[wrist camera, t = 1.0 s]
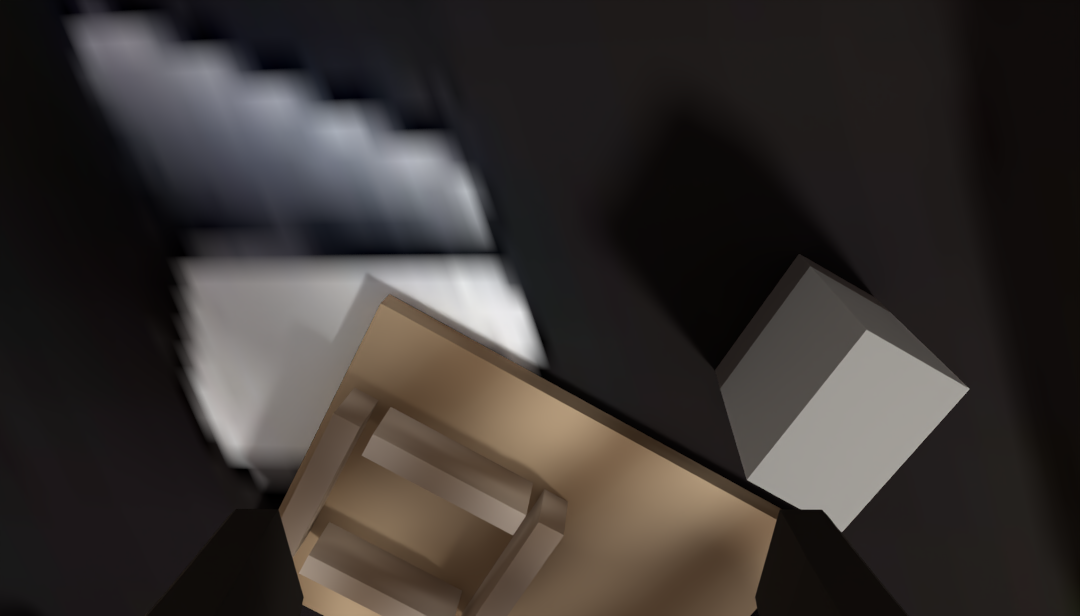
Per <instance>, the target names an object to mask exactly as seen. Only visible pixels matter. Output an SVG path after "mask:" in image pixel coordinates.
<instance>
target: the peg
mask: <svg viewBox="0 0 1080 616" xmlns="http://www.w3.org/2000/svg"><path fill="white" fill-rule="evenodd" d="M715 373H716V376H717V379H718V383H719V386H720V390H721V393H722V397H723V400H724V403H725V407H726V410H727V414H728V417H729V420H730V424H731V427H732V431H733V434H734V438H735V441H736V444H737V448H738V451H739V455H740V458H741V461H742V465H743V468H744V472H745V475H746V478H747V480H748V481H750V482H752V483H753V484H755V485H757V486H759V487H761V488H763V489H764V490H766V491H768V492H770V493H772V494H773V495H775V496H777V497H779V498H781V499H783V500H784V501H786V502H788V503H790V504H792V505H793V506H795V507H797V508H799V509H801V510H823V511H824V512H825V513H826V514H827V515H828V516H829V518H830V519H831V520H832V522H833V523H834V524H835V525H836V527H837V528H838V529H839V530H840V531H841V532H842V531H843V530H844V529H845V528H846V527H847V526H848V525H849V524H850V522H851V521H852V520H853V519H854V518H855V517H856V516H857V515H858V514H859V512H860V511H861V510H862V509H863V508H864V507H865V506H866V505H867V503H868V502H869V501H870V500H871V499H872V498H873V497H874V496H875V494H876V493H877V492H878V491H879V490H880V489H881V488H882V487H883V485H884V484H885V483H886V482H887V481H888V480H889V479H890V478H891V476H892V475H893V474H894V473H895V472H896V471H897V470H898V469H899V468H900V466H901V465H902V464H903V463H904V462H905V461H906V460H907V459H908V457H909V456H910V455H911V454H912V453H913V452H914V451H915V450H916V448H917V447H918V446H919V445H920V444H921V443H922V442H923V441H924V439H925V438H926V437H927V436H928V435H929V434H930V433H931V432H932V430H933V429H934V428H935V427H936V426H937V425H938V424H939V423H940V422H941V420H942V419H943V418H944V417H945V416H946V415H947V414H948V413H949V411H950V410H951V409H952V408H953V407H954V406H955V405H956V404H957V402H958V401H959V400H960V399H961V398H962V397H963V396H964V395H965V393H966V392H967V391H968V390H969V388H968V387H967V386H966V385H965V384H964V383H963V382H962V381H961V380H960V379H959V378H958V377H957V376H956V375H955V374H954V373H953V372H951V371H950V370H949V369H948V368H947V367H946V366H945V365H944V364H943V363H942V362H941V361H940V360H939V359H938V358H937V357H936V356H935V355H934V354H933V353H932V352H931V351H930V350H929V349H928V348H927V347H926V346H924V345H923V344H922V343H921V342H920V341H919V340H918V339H917V338H916V337H915V336H914V335H913V334H912V333H911V332H910V331H909V330H908V329H907V328H906V327H905V326H904V325H903V324H902V323H901V322H900V321H899V320H898V319H896V318H895V317H894V316H893V315H892V314H891V313H890V312H889V311H888V310H887V309H886V308H885V307H884V306H883V305H882V304H881V303H880V302H879V301H878V300H877V299H876V298H875V297H873V296H871V295H870V294H868V293H866V292H864V291H863V290H861V289H859V288H858V287H856V286H854V285H852V284H851V283H849V282H847V281H846V280H844V279H842V278H840V277H839V276H837V275H835V274H833V273H832V272H830V271H828V270H827V269H825V268H823V267H821V266H820V265H818V264H816V263H814V262H813V261H811V260H809V259H808V258H806V257H804V256H802V255H801V254H799V255H798V256H797V257H796V259H795V260H794V261H793V263H792V264H791V266H790V267H789V268H788V270H787V271H786V273H785V274H784V275H783V277H782V278H781V279H780V281H779V282H778V284H777V285H776V286H775V288H774V289H773V291H772V292H771V293H770V295H769V296H768V297H767V299H766V300H765V302H764V303H763V304H762V306H761V307H760V308H759V310H758V311H757V313H756V314H755V315H754V317H753V318H752V320H751V321H750V322H749V324H748V325H747V326H746V328H745V329H744V331H743V332H742V333H741V335H740V336H739V338H738V339H737V340H736V342H735V343H734V344H733V346H732V347H731V349H730V350H729V351H728V353H727V354H726V356H725V357H724V358H723V360H722V361H721V362H720V364H719V365H718V367H717V368H716V369H715Z"/></svg>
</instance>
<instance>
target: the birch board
mask: <svg viewBox="0 0 1080 616" xmlns="http://www.w3.org/2000/svg"><path fill="white" fill-rule="evenodd" d="M779 510H780V508H779V507H777V506H775V505H773V504H771V503H770V502H768V501H766V500H764V499H762V498H760V497H759V496H757V495H755V494H753V493H751V492H749V491H748V490H746V489H744V488H742V487H740V486H739V485H737V484H735V483H733V482H731V481H729V480H728V479H726V478H724V477H722V476H720V475H718V474H717V473H715V472H713V471H711V470H709V469H707V468H706V467H704V466H702V465H700V464H698V463H697V462H695V461H693V460H691V459H689V458H687V457H686V456H684V455H682V454H680V453H678V452H676V451H675V450H673V449H671V448H669V447H667V446H666V445H664V444H662V443H660V442H658V441H656V440H655V439H653V438H651V437H649V436H647V435H645V434H644V433H642V432H640V431H638V430H636V429H634V428H633V427H631V426H629V425H627V424H625V423H624V422H622V421H620V420H618V419H616V418H614V417H613V416H611V415H609V414H607V413H605V412H603V411H602V410H600V409H598V408H596V407H594V406H593V405H591V404H589V403H587V402H585V401H583V400H582V399H580V398H578V397H576V396H574V395H572V394H571V393H569V392H567V391H565V390H563V389H561V388H560V387H558V386H556V385H554V384H552V383H551V382H549V381H547V380H545V379H543V378H541V377H540V376H538V375H536V374H534V373H532V372H530V371H529V370H527V369H525V368H523V367H521V366H520V365H518V364H516V363H514V362H512V361H510V360H509V359H507V358H505V357H503V356H501V355H499V354H498V353H496V352H494V351H492V350H490V349H488V348H487V347H485V346H483V345H481V344H479V343H478V342H476V341H474V340H472V339H470V338H468V337H467V336H465V335H463V334H461V333H459V332H457V331H456V330H454V329H452V328H450V327H448V326H447V325H445V324H443V323H441V322H439V321H437V320H436V319H434V318H432V317H430V316H428V315H426V314H425V313H423V312H421V311H419V310H417V309H415V308H414V307H412V306H410V305H408V304H406V303H405V302H403V301H401V300H399V299H397V298H395V297H394V296H392V295H390V294H389V295H388V296H387V297H386V298H385V299H384V300H383V301H382V302H381V304H380V306H379V308H378V310H377V312H376V314H375V316H374V318H373V320H372V322H371V324H370V326H369V328H368V330H367V332H366V334H365V336H364V338H363V340H362V342H361V344H360V346H359V348H358V350H357V352H356V354H355V356H354V358H353V360H352V362H351V364H350V366H349V368H348V370H347V372H346V374H345V376H344V378H343V380H342V382H341V384H340V386H339V388H338V390H337V393H336V395H335V397H334V399H333V401H332V403H331V405H330V407H329V409H328V411H327V413H326V415H325V417H324V419H323V421H322V423H321V425H320V427H319V429H318V431H317V433H316V435H315V437H314V439H313V441H312V443H311V445H310V447H309V449H308V451H307V453H306V455H305V457H304V459H303V461H302V463H301V465H300V467H299V469H298V471H297V473H296V475H295V477H294V479H293V481H292V483H291V485H290V487H289V490H288V492H287V494H286V496H285V498H284V500H283V502H282V504H281V506H280V508H279V513H280V516H281V520H282V523H283V527H284V530H285V534H286V537H287V541H288V544H289V548H290V551H291V554H292V558H293V561H294V565H295V568H296V572H297V575H298V579H299V582H300V586H301V589H302V593H303V596H304V598H303V603H302V605H304V606H306V607H308V608H310V609H312V610H314V611H316V612H318V613H320V614H322V615H324V616H750V615H751V614H752V613H753V612H754V611H755V610H756V609H757V605H756V599H755V595H756V592H757V588H758V585H759V581H760V578H761V574H762V570H763V567H764V563H765V560H766V556H767V553H768V549H769V545H770V542H771V538H772V535H773V531H774V528H775V524H776V521H777V517H778V513H779Z"/></svg>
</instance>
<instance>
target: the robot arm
mask: <svg viewBox="0 0 1080 616" xmlns="http://www.w3.org/2000/svg"><path fill="white" fill-rule="evenodd" d="M303 598H304V596H303V593H302V589H301V586H300V582H299V579H298V575H297V572H296V568H295V565H294V561H293V558H292V554H291V551H290V548H289V544H288V541H287V537H286V534H285V530H284V527H283V523H282V520H281V516H280V513H279V509H236V510H235V511H233V512H232V513H231V514H230V515H229V516H228V518H227V519H226V520H225V521H224V522H223V524H222V525H221V526H220V527H219V528H218V530H217V531H216V532H215V533H214V534H213V536H212V537H211V538H210V539H209V541H208V542H207V543H206V544H205V545H204V547H203V548H202V549H201V550H200V551H199V553H198V554H197V555H196V556H195V558H194V559H193V560H192V561H191V562H190V564H189V565H188V566H187V567H186V568H185V570H184V571H183V572H182V573H181V574H180V575H179V577H178V578H177V579H176V580H175V581H174V583H173V584H172V585H171V586H170V587H169V588H168V590H167V591H166V592H165V593H164V594H163V596H162V597H161V598H160V599H159V600H158V601H157V603H156V604H155V605H154V606H153V607H152V608H151V609H150V611H149V612H148V613H147V614H146V615H145V616H300V613H301V608H302V603H303ZM755 599H756V605H757V610H758V615H759V616H908V615H907V613H906V612H905V611H904V610H903V609H902V607H901V606H900V605H899V604H898V603H897V601H896V600H895V599H894V598H893V596H892V595H891V594H890V593H889V592H888V590H887V589H886V588H885V587H884V585H883V584H882V583H881V582H880V581H879V579H878V578H877V577H876V576H875V574H874V573H873V572H872V571H871V569H870V568H869V567H868V566H867V564H866V563H865V562H864V561H863V559H862V558H861V557H860V556H859V554H858V553H857V552H856V551H855V549H854V548H853V547H852V546H851V544H850V543H849V542H848V541H847V539H846V538H845V537H844V535H843V534H842V533H841V532H840V530H839V529H838V528H837V527H836V525H835V524H834V523H833V522H832V520H831V519H830V518H829V516H828V515H827V514H826V513H825V512H824V511H823V510H786V509H780V510H779V513H778V517H777V521H776V524H775V528H774V531H773V535H772V538H771V542H770V545H769V549H768V553H767V556H766V560H765V563H764V567H763V570H762V574H761V578H760V581H759V585H758V588H757V592H756V595H755Z"/></svg>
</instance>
